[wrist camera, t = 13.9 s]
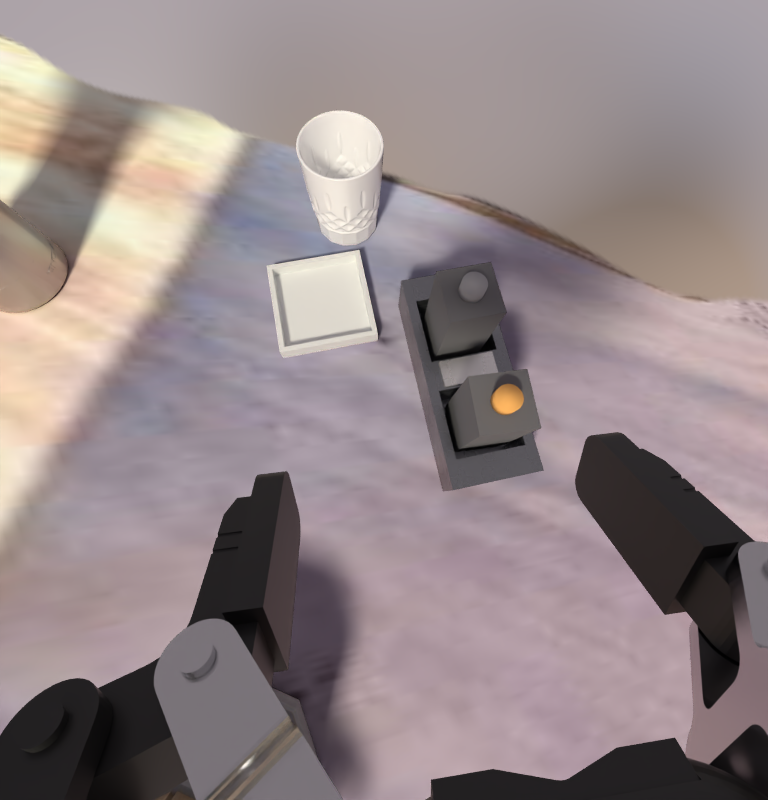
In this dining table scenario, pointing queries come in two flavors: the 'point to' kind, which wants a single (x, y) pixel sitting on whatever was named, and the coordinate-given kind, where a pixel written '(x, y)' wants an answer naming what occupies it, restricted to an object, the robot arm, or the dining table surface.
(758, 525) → the dining table surface
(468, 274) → the twin plug
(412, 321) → the strip
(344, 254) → the tray
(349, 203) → the white cup
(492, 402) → the plug
